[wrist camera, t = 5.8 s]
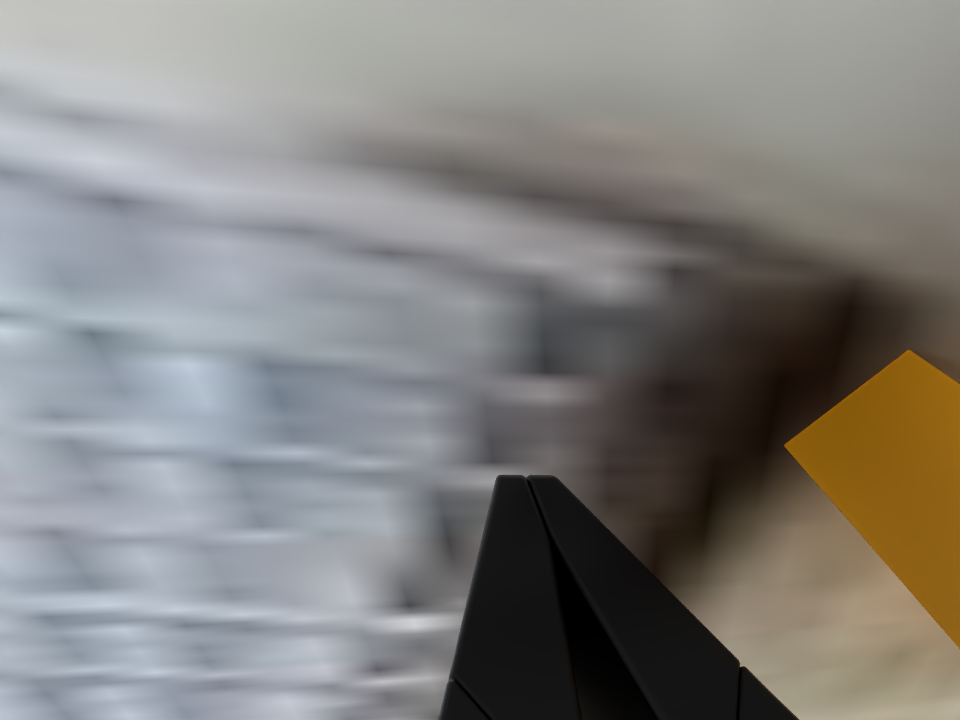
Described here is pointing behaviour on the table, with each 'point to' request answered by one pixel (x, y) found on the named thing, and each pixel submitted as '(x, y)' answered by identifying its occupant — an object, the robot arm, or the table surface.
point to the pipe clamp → (898, 476)
